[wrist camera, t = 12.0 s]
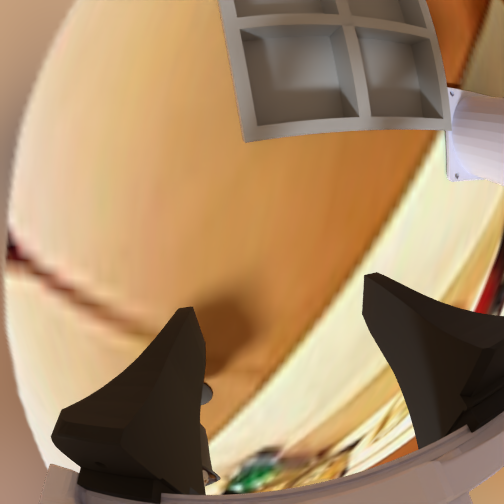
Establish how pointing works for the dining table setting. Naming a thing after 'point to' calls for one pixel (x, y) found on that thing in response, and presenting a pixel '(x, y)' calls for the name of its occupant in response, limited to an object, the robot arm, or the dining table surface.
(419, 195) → the dining table surface
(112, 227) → the dining table surface
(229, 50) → the grey compartment tray
